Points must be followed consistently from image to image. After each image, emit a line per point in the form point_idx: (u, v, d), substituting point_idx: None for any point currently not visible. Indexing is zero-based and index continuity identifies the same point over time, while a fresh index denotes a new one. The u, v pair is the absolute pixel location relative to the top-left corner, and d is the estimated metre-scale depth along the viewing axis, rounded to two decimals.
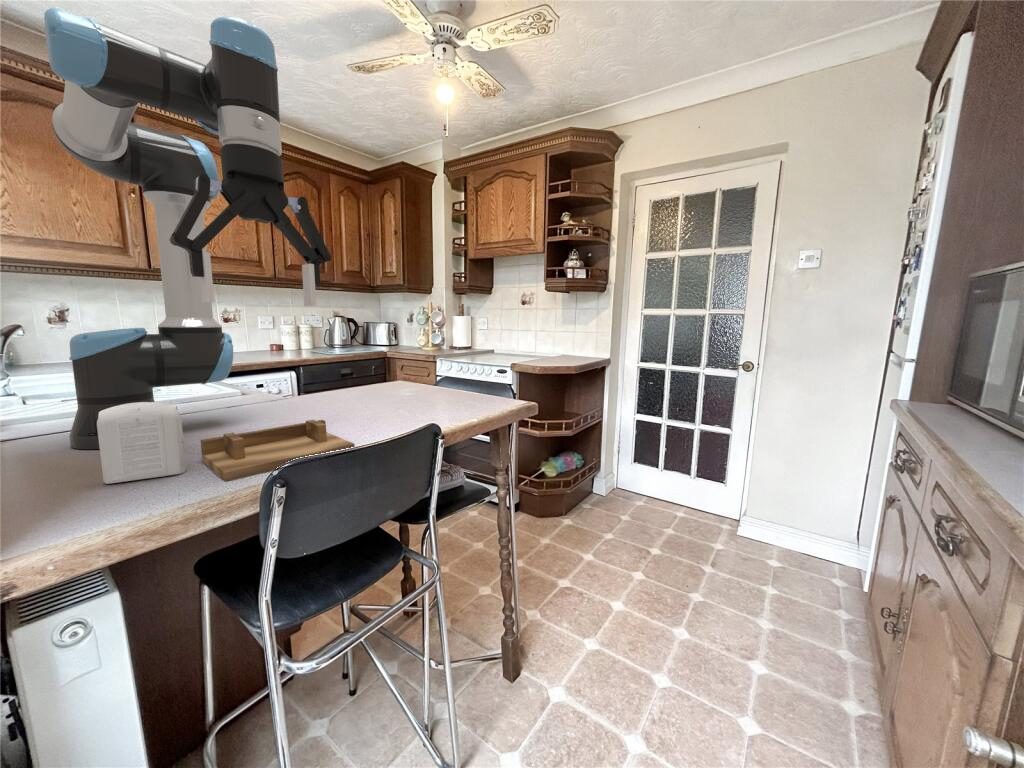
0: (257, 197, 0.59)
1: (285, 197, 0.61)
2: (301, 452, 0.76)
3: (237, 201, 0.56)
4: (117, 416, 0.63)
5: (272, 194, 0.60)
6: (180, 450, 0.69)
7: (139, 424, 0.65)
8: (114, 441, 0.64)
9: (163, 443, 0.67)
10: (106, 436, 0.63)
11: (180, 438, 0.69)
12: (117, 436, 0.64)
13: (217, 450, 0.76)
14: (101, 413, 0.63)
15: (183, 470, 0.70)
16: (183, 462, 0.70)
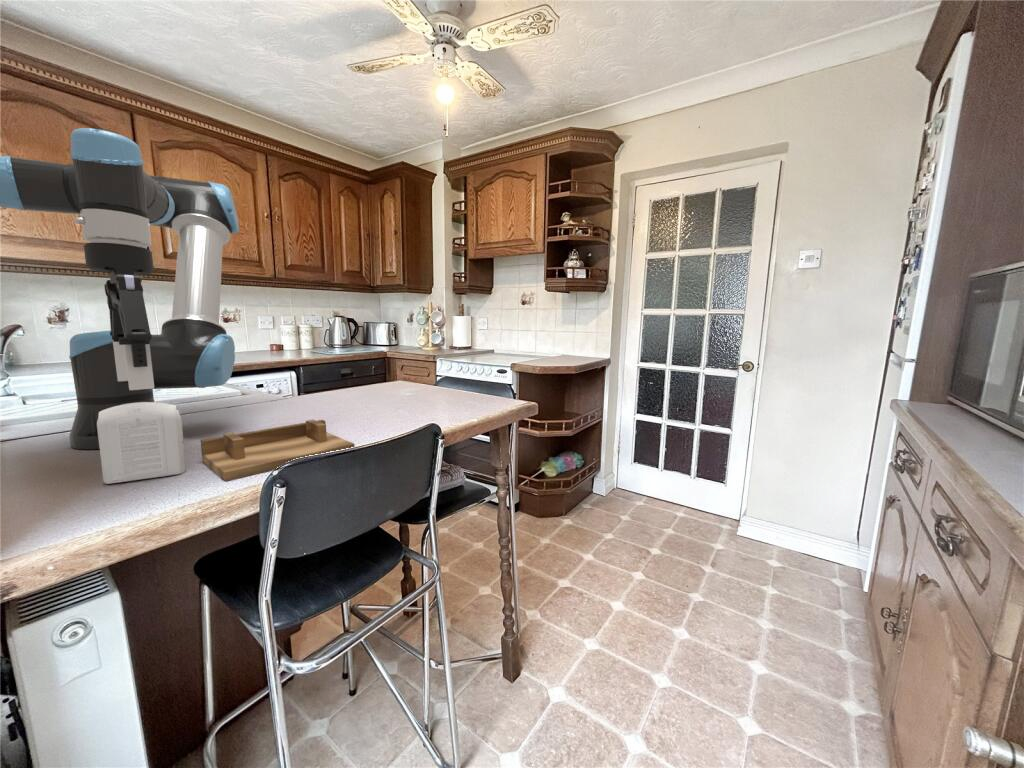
0: None
1: (116, 280, 0.60)
2: (301, 452, 0.76)
3: None
4: (117, 416, 0.63)
5: (114, 280, 0.61)
6: (180, 450, 0.69)
7: (139, 424, 0.65)
8: (114, 441, 0.64)
9: (163, 443, 0.67)
10: (105, 436, 0.63)
11: (180, 438, 0.69)
12: (117, 436, 0.64)
13: (217, 450, 0.76)
14: (101, 413, 0.63)
15: (183, 470, 0.70)
16: (183, 462, 0.70)
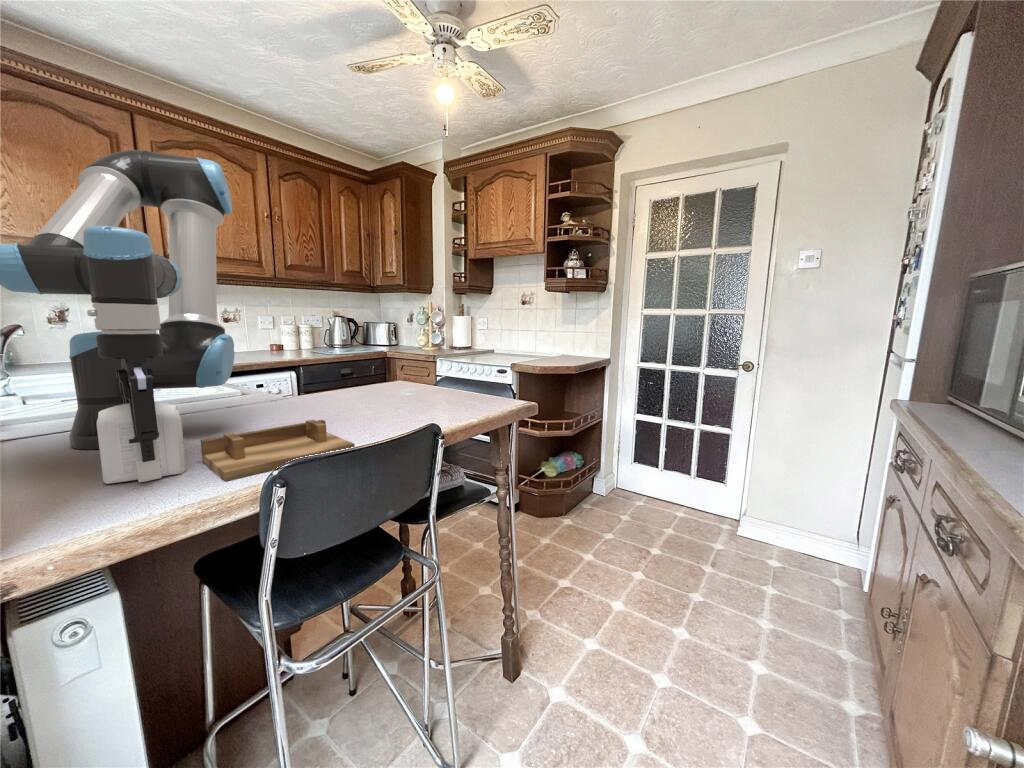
0: None
1: (128, 371, 0.62)
2: (301, 452, 0.76)
3: (119, 383, 0.66)
4: (117, 416, 0.63)
5: (125, 365, 0.63)
6: (180, 450, 0.69)
7: None
8: (114, 441, 0.64)
9: (163, 443, 0.67)
10: (105, 436, 0.63)
11: (180, 438, 0.69)
12: (117, 436, 0.64)
13: (217, 450, 0.76)
14: (101, 413, 0.63)
15: (183, 470, 0.70)
16: (183, 462, 0.70)
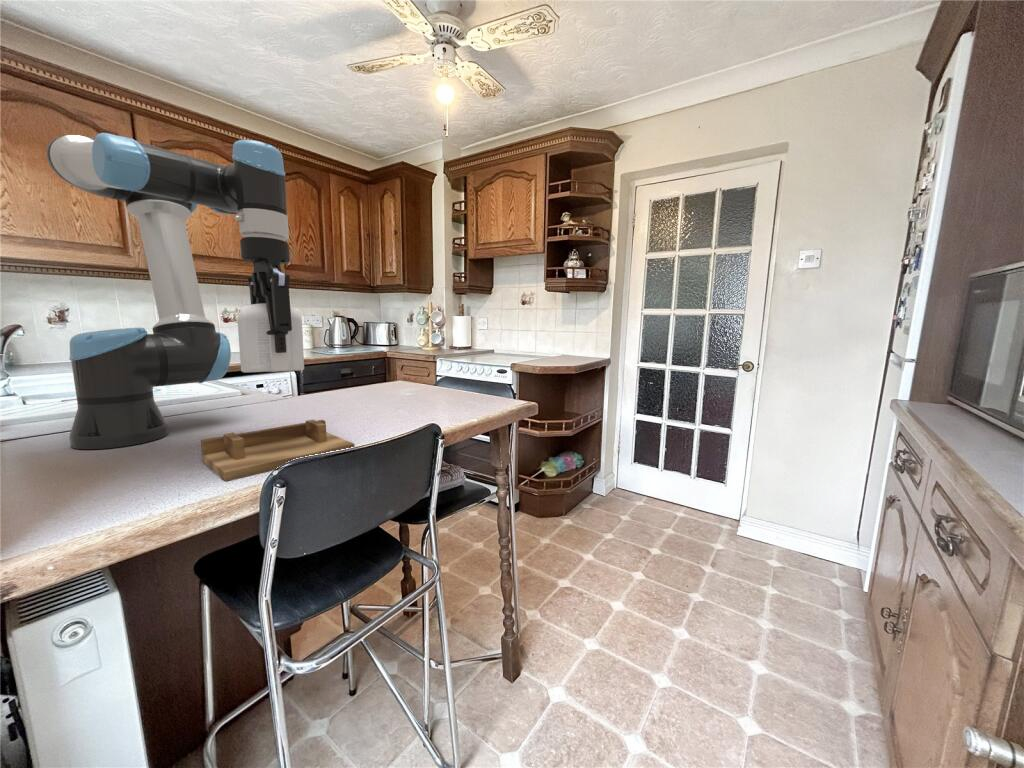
0: None
1: (268, 270, 0.71)
2: (301, 452, 0.76)
3: (253, 285, 0.75)
4: (256, 312, 0.72)
5: (264, 266, 0.72)
6: (302, 349, 0.78)
7: None
8: (253, 334, 0.73)
9: (290, 340, 0.76)
10: (246, 328, 0.72)
11: (301, 338, 0.78)
12: (255, 330, 0.73)
13: (217, 450, 0.76)
14: (242, 308, 0.72)
15: (303, 368, 0.79)
16: (303, 360, 0.79)
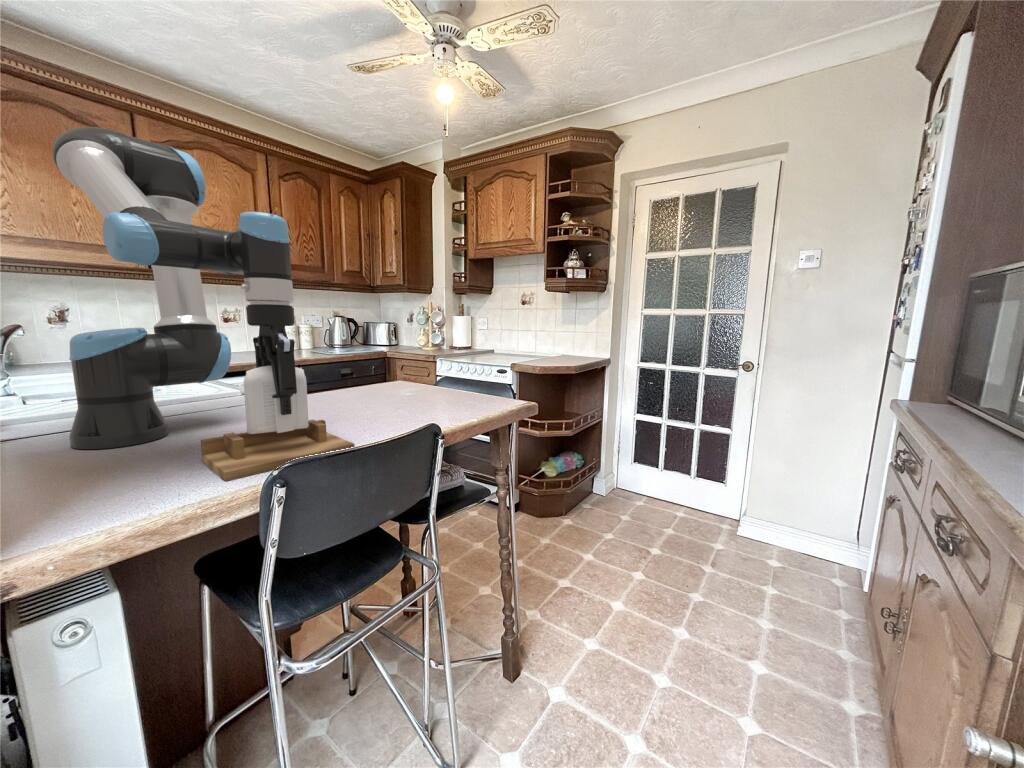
0: None
1: (273, 336, 0.73)
2: (301, 452, 0.76)
3: (259, 348, 0.77)
4: (261, 375, 0.74)
5: (269, 332, 0.74)
6: (306, 408, 0.80)
7: None
8: (259, 397, 0.74)
9: (295, 400, 0.78)
10: (252, 392, 0.74)
11: (306, 397, 0.80)
12: (261, 393, 0.74)
13: (217, 450, 0.76)
14: (248, 373, 0.74)
15: (307, 425, 0.80)
16: (307, 418, 0.80)
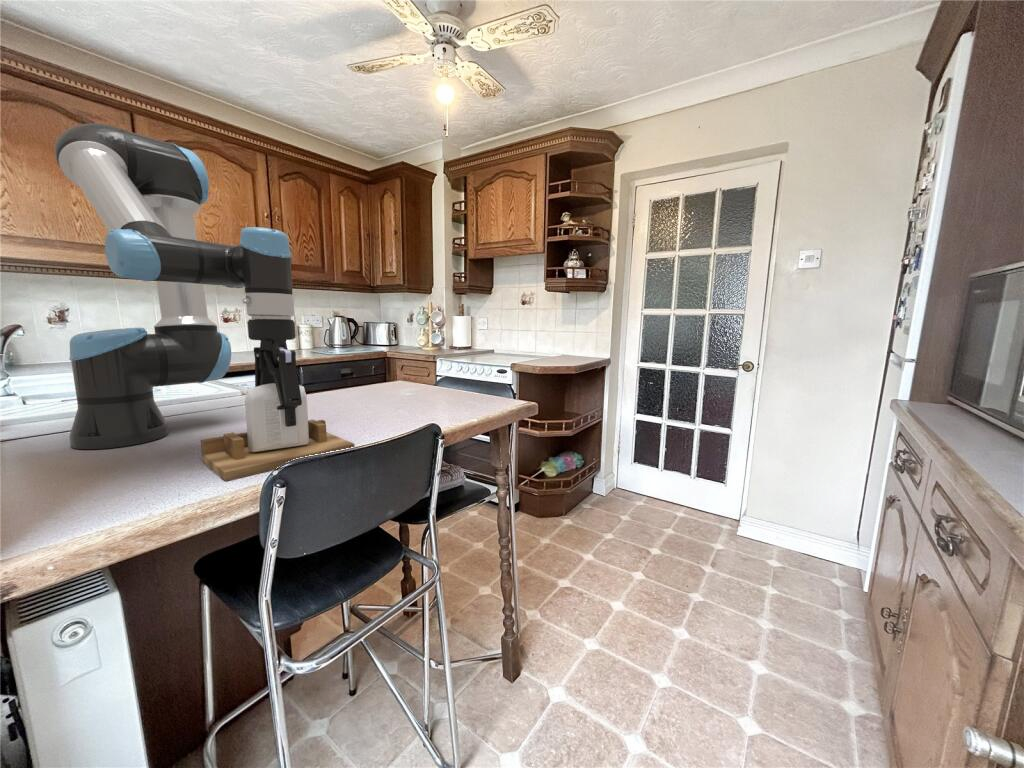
0: None
1: (274, 350, 0.73)
2: (301, 452, 0.76)
3: (259, 360, 0.77)
4: (263, 394, 0.75)
5: (270, 347, 0.74)
6: (307, 424, 0.81)
7: (279, 400, 0.76)
8: (261, 415, 0.75)
9: None
10: (254, 410, 0.74)
11: (307, 414, 0.81)
12: (263, 411, 0.75)
13: (217, 450, 0.76)
14: (250, 391, 0.74)
15: (308, 442, 0.81)
16: (308, 435, 0.81)
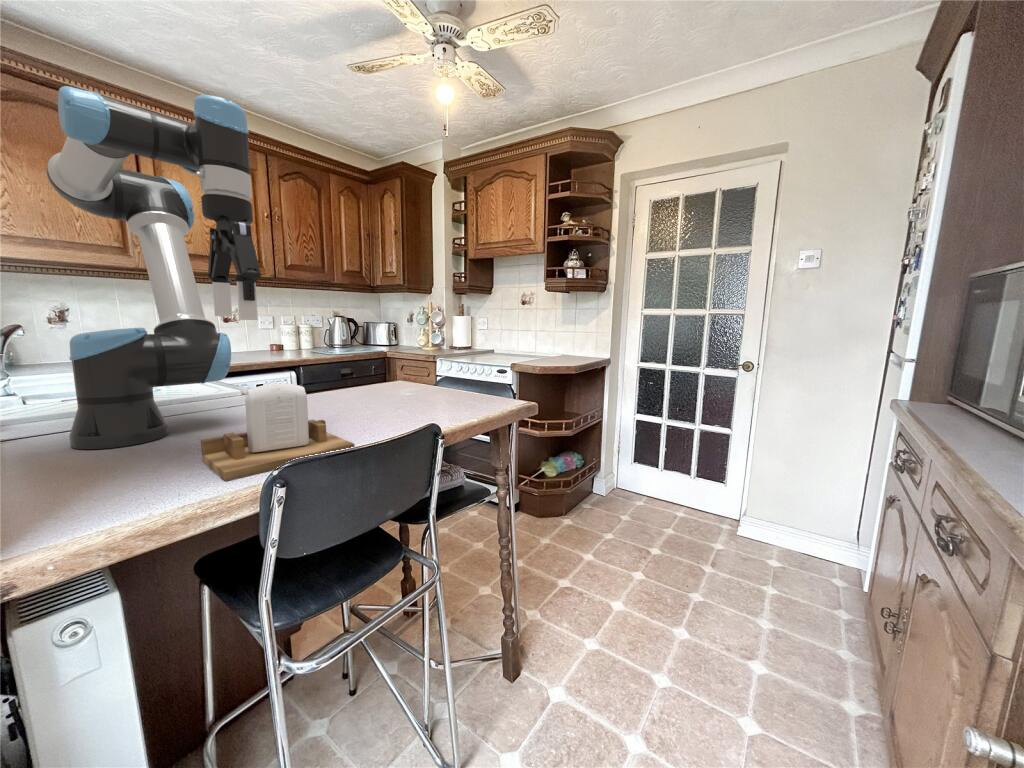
0: None
1: (229, 226, 0.72)
2: (301, 452, 0.76)
3: (214, 241, 0.76)
4: (263, 394, 0.75)
5: (225, 227, 0.73)
6: (307, 425, 0.81)
7: (280, 401, 0.76)
8: (261, 416, 0.75)
9: (296, 418, 0.78)
10: (255, 411, 0.74)
11: (307, 414, 0.81)
12: (263, 412, 0.75)
13: (217, 450, 0.76)
14: (250, 392, 0.74)
15: (308, 442, 0.81)
16: (308, 435, 0.81)
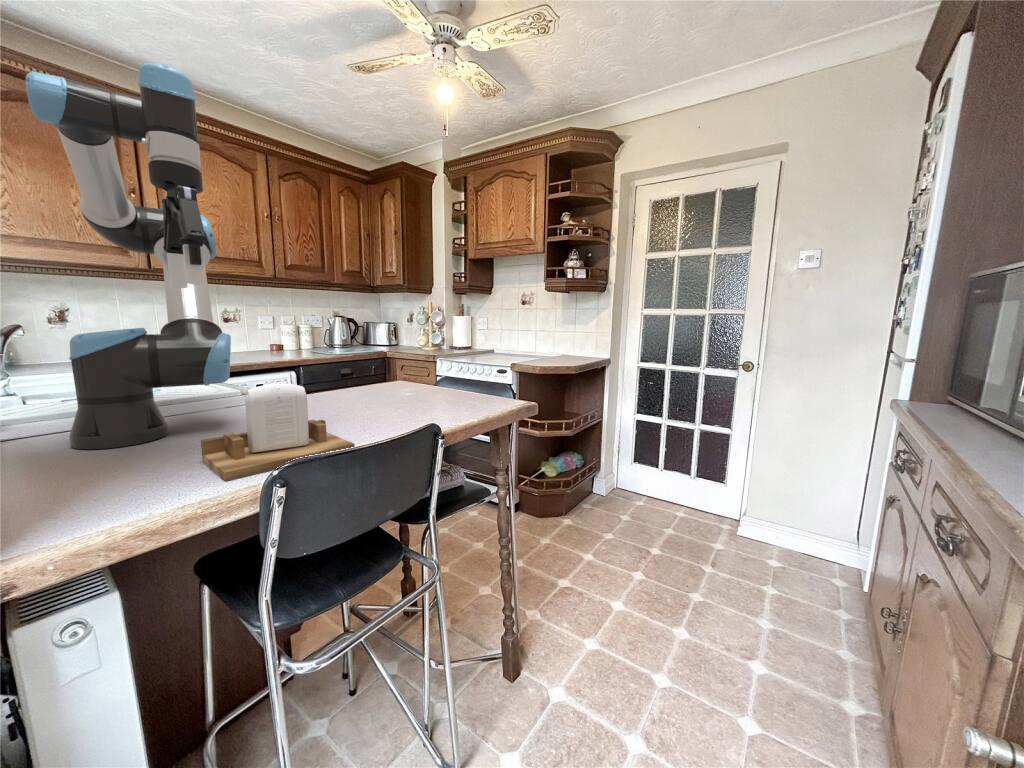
0: None
1: (175, 192, 0.72)
2: (301, 452, 0.76)
3: (164, 210, 0.76)
4: (263, 394, 0.75)
5: (173, 194, 0.73)
6: (307, 425, 0.81)
7: (280, 401, 0.76)
8: (261, 416, 0.75)
9: (296, 418, 0.78)
10: (255, 411, 0.74)
11: (307, 414, 0.81)
12: (263, 412, 0.75)
13: (217, 450, 0.76)
14: (250, 392, 0.74)
15: (308, 442, 0.81)
16: (308, 435, 0.81)
